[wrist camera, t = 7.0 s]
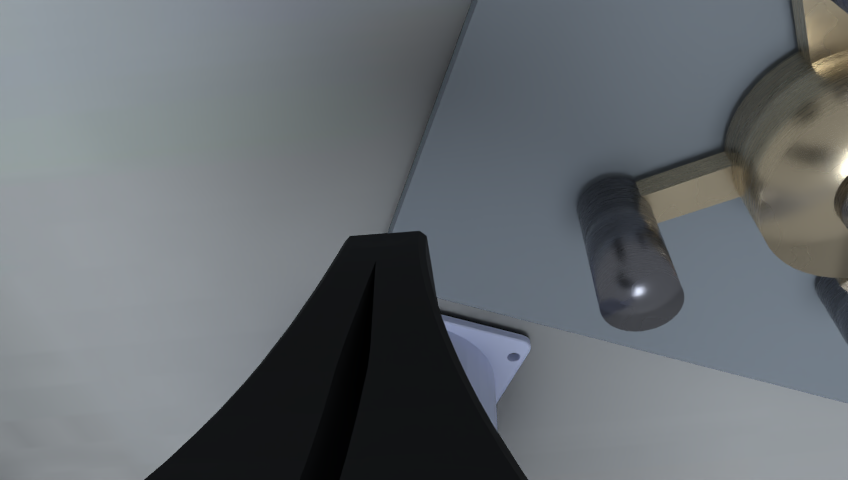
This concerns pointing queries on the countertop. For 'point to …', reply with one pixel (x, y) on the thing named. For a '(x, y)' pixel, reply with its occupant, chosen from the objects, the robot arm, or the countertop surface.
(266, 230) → the countertop surface
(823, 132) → the capstan
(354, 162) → the countertop surface
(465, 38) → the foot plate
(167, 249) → the countertop surface
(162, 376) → the countertop surface
